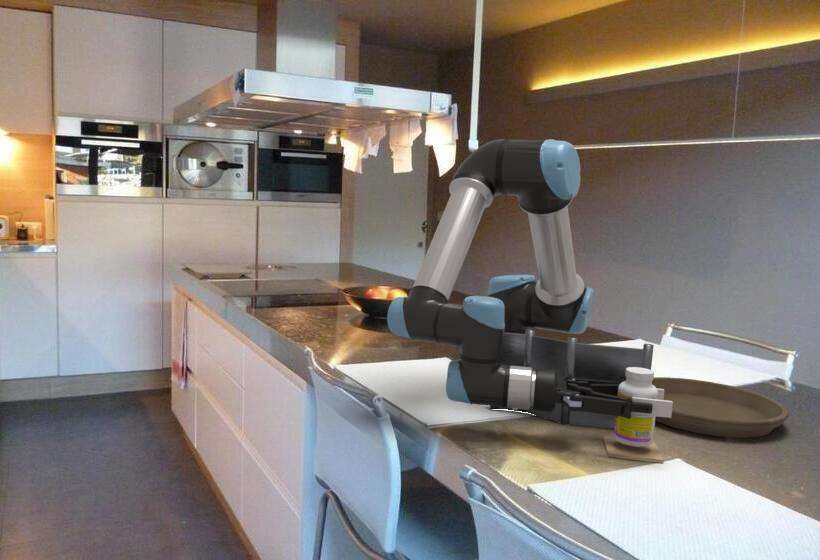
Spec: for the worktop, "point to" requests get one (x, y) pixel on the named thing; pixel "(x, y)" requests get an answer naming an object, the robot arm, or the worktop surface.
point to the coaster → (632, 451)
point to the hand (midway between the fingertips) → (667, 402)
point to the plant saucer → (719, 408)
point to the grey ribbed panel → (572, 368)
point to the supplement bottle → (638, 426)
